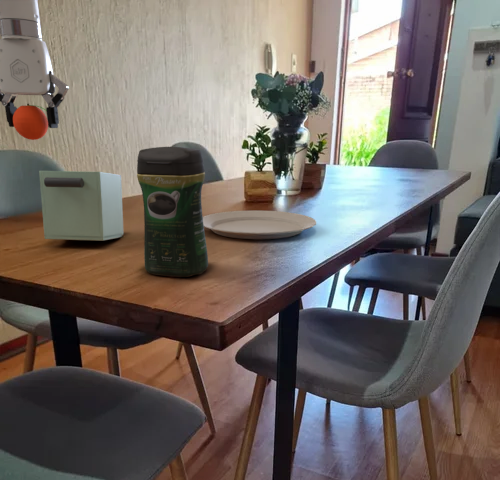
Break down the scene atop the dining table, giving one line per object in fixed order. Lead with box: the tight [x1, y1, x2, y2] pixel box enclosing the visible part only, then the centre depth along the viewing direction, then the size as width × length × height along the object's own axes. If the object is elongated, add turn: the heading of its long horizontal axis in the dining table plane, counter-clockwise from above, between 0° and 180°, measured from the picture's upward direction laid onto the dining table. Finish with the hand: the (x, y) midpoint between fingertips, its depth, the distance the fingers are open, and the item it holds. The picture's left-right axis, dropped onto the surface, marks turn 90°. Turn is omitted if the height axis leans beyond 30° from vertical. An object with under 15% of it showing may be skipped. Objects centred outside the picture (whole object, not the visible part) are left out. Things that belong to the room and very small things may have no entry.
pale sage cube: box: [38, 170, 125, 242], centre depth 95 cm, size 14×11×12 cm
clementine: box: [13, 103, 49, 141], centre depth 108 cm, size 8×7×7 cm
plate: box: [202, 209, 317, 240], centre depth 110 cm, size 26×26×2 cm
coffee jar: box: [136, 146, 209, 278], centre depth 77 cm, size 10×8×19 cm
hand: (33, 126), depth 108 cm, fingers closed on clementine, 8 cm apart
